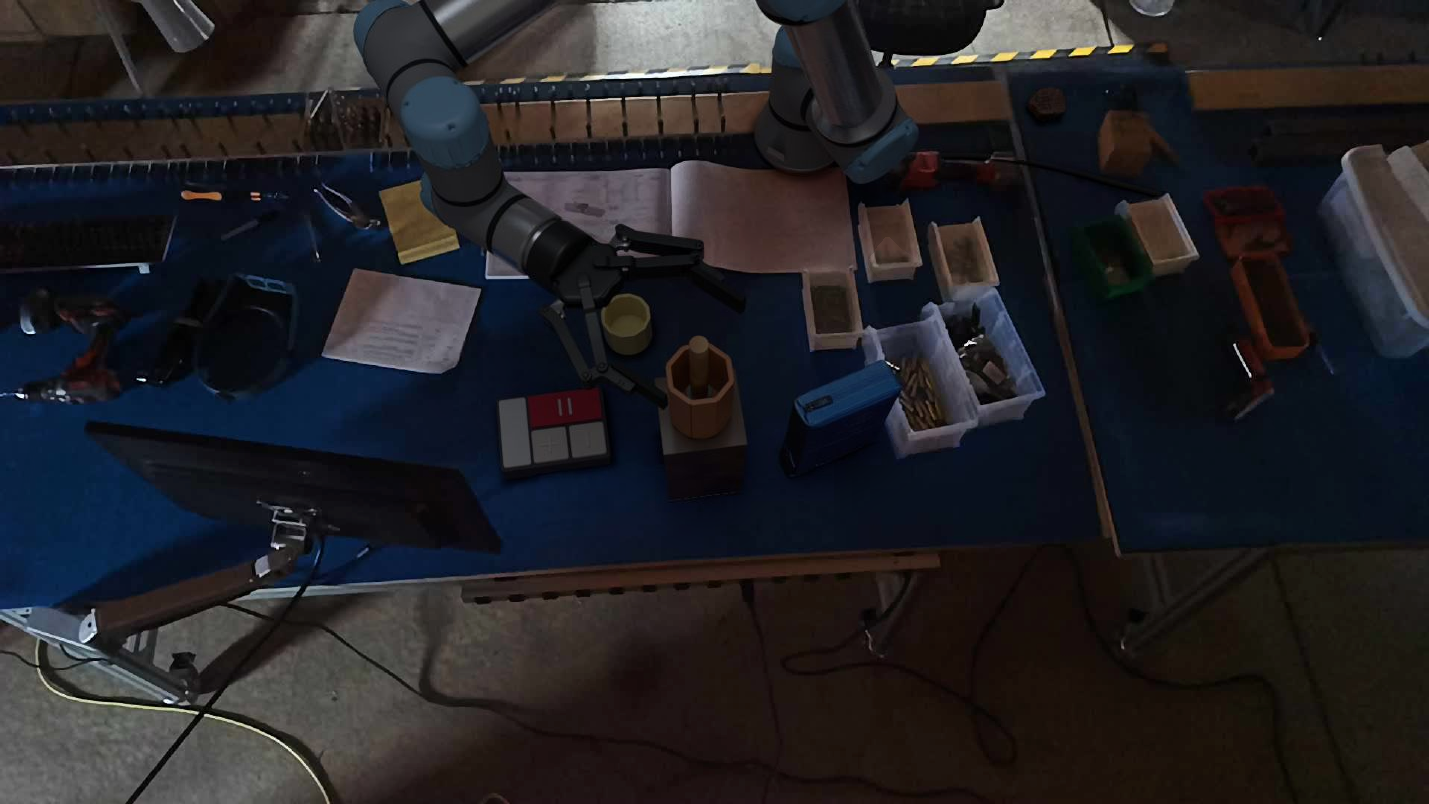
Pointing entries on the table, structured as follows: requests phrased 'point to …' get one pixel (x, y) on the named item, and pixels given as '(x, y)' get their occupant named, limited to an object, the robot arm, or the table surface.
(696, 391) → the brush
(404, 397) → the table surface
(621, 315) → the rinse cup
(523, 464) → the button panel
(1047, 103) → the stone
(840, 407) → the book
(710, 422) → the octagonal pencil cup
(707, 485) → the stand
